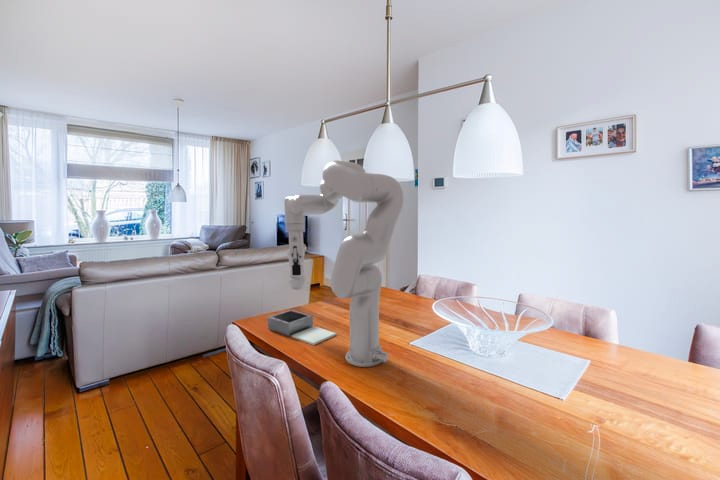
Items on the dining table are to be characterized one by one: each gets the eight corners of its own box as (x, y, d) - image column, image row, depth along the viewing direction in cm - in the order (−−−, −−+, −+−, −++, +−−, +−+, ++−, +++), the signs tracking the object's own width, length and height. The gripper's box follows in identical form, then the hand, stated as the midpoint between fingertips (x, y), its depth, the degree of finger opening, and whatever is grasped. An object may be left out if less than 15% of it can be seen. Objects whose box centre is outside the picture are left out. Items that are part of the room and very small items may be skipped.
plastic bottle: (306, 290, 130) (304, 239, 128) (288, 291, 129) (286, 240, 127) (306, 287, 136) (304, 238, 135) (289, 288, 135) (287, 239, 134)
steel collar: (312, 327, 138) (312, 315, 138) (289, 336, 129) (288, 324, 128) (291, 320, 146) (291, 309, 146) (268, 328, 137) (267, 317, 136)
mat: (336, 335, 130) (336, 333, 130) (313, 345, 120) (313, 343, 120) (314, 328, 137) (314, 326, 137) (291, 337, 128) (291, 335, 128)
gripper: (303, 228, 122) (305, 277, 124) (305, 226, 139) (307, 269, 141) (283, 229, 121) (285, 278, 123) (287, 227, 138) (289, 270, 140)
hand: (297, 273), depth 132 cm, fingers closed on plastic bottle, 5 cm apart
